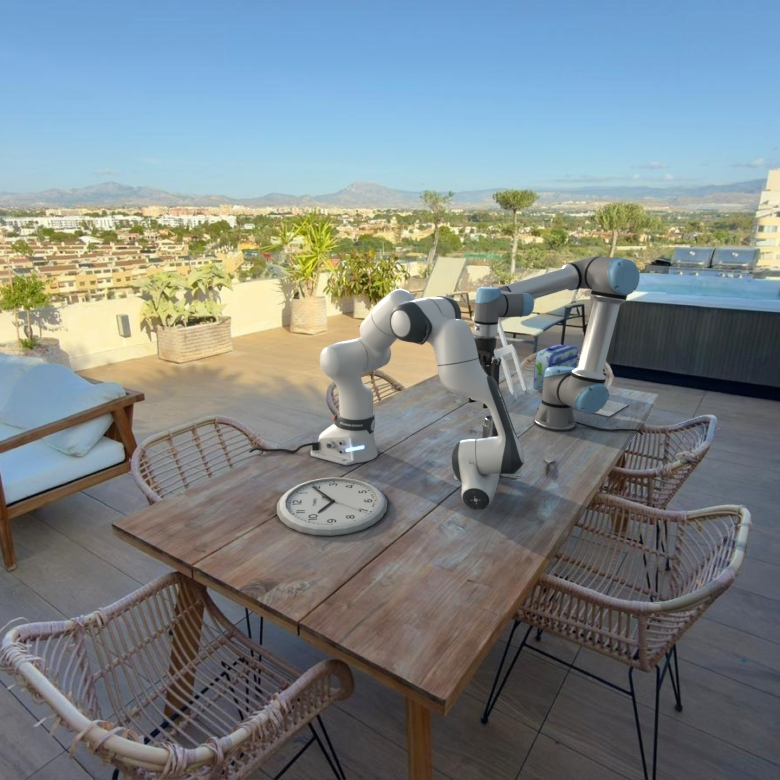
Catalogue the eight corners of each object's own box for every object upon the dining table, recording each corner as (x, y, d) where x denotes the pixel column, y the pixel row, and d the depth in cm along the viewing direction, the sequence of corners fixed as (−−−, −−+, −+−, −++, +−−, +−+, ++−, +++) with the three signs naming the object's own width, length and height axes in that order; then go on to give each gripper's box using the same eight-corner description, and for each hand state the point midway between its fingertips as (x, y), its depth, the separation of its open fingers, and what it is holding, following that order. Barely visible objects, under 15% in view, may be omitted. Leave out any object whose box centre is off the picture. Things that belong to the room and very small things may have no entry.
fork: (541, 476, 161) (542, 470, 161) (545, 456, 176) (546, 450, 175) (550, 477, 161) (551, 471, 160) (553, 457, 175) (554, 451, 174)
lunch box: (550, 397, 237) (555, 352, 231) (529, 391, 245) (533, 348, 238) (577, 386, 255) (582, 344, 249) (556, 381, 262) (561, 340, 256)
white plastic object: (461, 429, 252) (437, 405, 227) (444, 352, 274) (420, 323, 250) (535, 404, 240) (518, 377, 215) (510, 326, 262) (492, 293, 237)
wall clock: (392, 527, 129) (268, 531, 127) (391, 533, 130) (269, 537, 127) (383, 473, 158) (282, 475, 155) (383, 478, 158) (282, 480, 156)
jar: (484, 468, 166) (488, 413, 161) (500, 473, 163) (505, 417, 158) (476, 474, 162) (480, 418, 156) (493, 479, 159) (497, 422, 154)
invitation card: (608, 416, 214) (573, 407, 224) (608, 416, 214) (573, 408, 224) (628, 404, 229) (594, 396, 238) (628, 405, 229) (594, 397, 238)
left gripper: (522, 469, 145) (525, 450, 158) (449, 458, 151) (458, 441, 164) (520, 489, 147) (523, 469, 160) (448, 478, 153) (457, 459, 166)
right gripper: (456, 332, 172) (452, 398, 179) (498, 343, 158) (492, 415, 164) (472, 330, 177) (468, 395, 183) (515, 340, 162) (508, 411, 169)
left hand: (490, 454), depth 162 cm, fingers closed on jar, 5 cm apart
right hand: (479, 404), depth 174 cm, fingers closed on lid, 6 cm apart
